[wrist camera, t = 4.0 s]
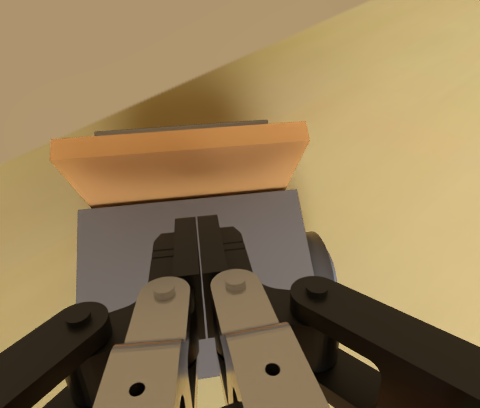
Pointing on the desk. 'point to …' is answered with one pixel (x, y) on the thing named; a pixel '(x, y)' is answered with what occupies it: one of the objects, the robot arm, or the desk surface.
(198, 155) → the side door
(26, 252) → the desk surface
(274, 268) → the camera housing
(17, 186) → the desk surface
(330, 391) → the robot arm
